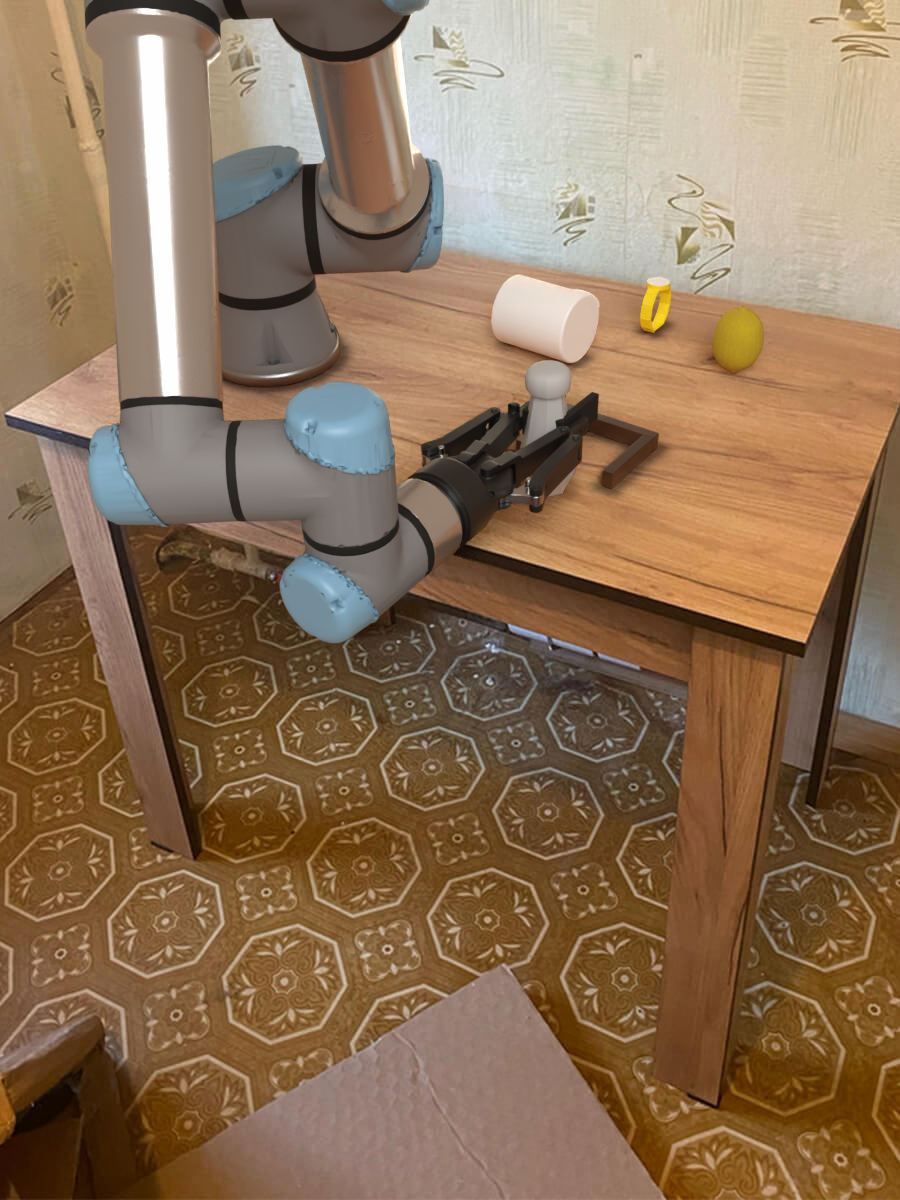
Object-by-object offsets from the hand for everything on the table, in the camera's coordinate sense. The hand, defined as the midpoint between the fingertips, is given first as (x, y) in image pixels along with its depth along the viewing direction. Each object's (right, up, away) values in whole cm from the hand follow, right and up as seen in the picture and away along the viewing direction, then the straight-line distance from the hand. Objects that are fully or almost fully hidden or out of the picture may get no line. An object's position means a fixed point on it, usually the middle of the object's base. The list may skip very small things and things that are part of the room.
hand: (578, 400), depth 108 cm
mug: (0, +11, +25) cm, 27 cm away
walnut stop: (+2, -4, +6) cm, 7 cm away
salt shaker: (-3, -8, +1) cm, 9 cm away
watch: (+12, +13, +27) cm, 32 cm away
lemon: (+20, +6, +17) cm, 27 cm away
